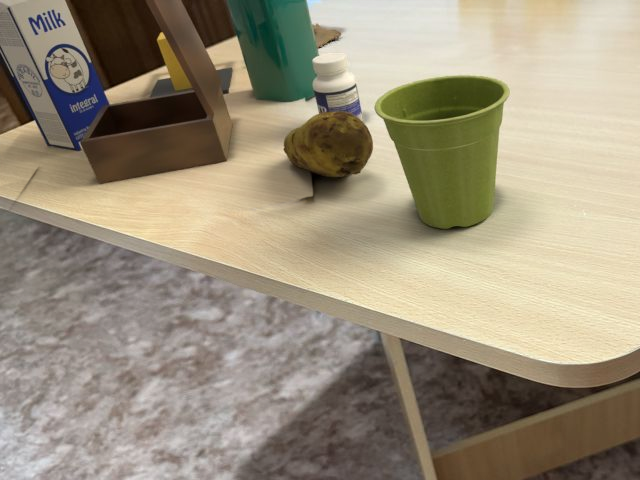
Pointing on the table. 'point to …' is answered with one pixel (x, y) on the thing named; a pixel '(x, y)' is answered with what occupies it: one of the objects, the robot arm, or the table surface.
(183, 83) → the block
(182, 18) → the lid
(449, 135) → the plant pot
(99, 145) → the brown wooden box
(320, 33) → the jawbone
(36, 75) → the milk carton
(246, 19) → the pitcher
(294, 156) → the potato
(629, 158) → the table surface
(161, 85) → the mat
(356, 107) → the pill bottle
